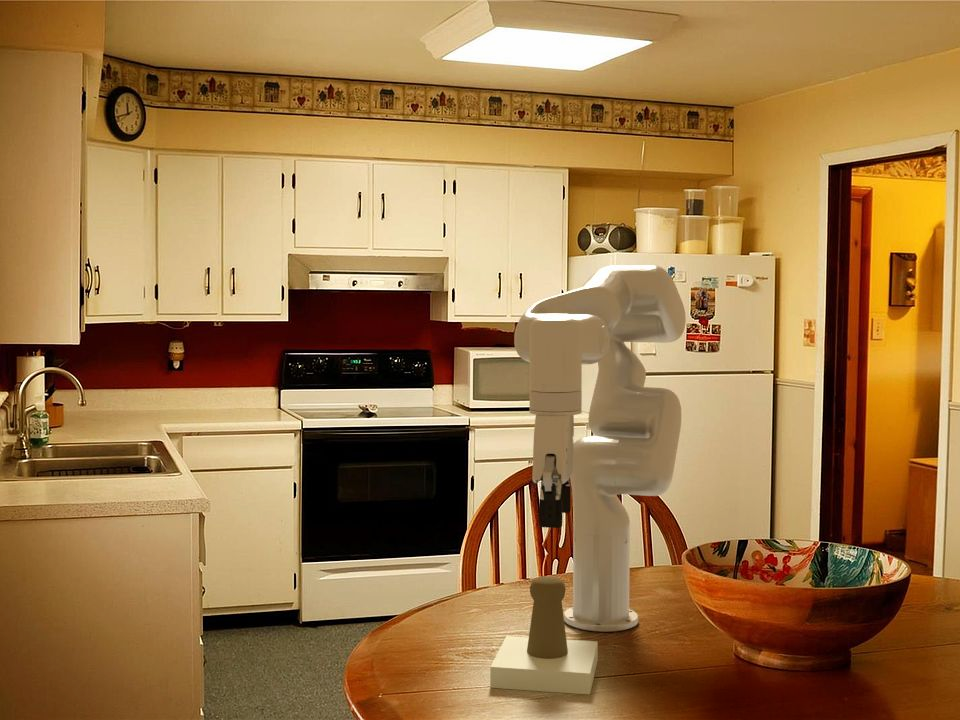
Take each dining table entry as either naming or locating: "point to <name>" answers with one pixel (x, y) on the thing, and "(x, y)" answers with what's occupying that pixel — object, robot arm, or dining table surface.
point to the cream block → (544, 668)
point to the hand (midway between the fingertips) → (555, 519)
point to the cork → (547, 619)
